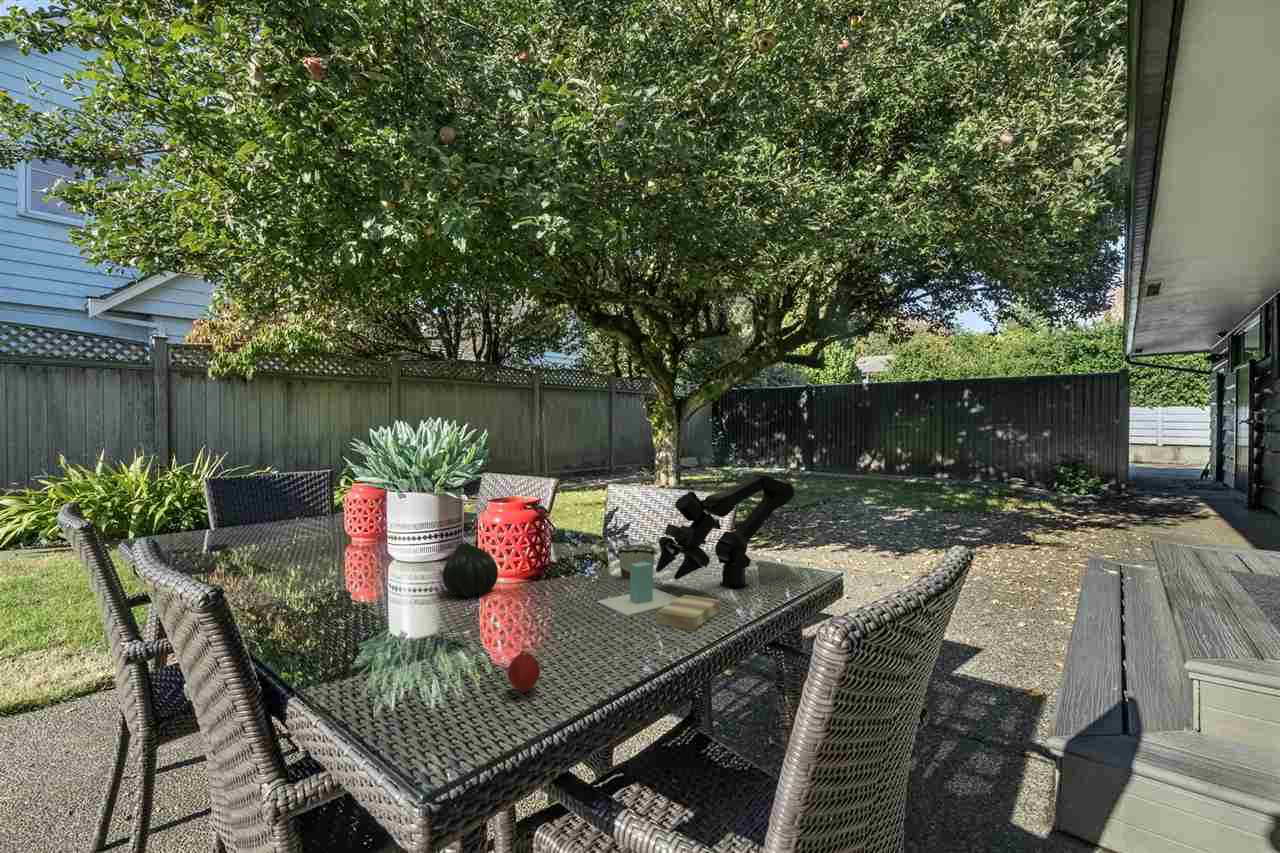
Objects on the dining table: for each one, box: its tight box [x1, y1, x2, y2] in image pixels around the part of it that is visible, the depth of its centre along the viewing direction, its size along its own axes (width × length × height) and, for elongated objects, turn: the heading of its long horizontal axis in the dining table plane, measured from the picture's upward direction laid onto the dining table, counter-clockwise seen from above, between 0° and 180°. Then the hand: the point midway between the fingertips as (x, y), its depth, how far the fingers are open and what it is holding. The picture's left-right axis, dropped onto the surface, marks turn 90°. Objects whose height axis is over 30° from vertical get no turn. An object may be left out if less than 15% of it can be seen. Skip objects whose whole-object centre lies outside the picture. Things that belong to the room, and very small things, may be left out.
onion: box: [507, 649, 541, 693], centre depth 113 cm, size 6×6×8 cm
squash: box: [442, 542, 499, 598], centre depth 174 cm, size 14×15×15 cm
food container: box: [616, 544, 657, 581], centre depth 190 cm, size 12×6×10 cm, turn 84°
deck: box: [656, 594, 720, 632], centre depth 154 cm, size 16×10×3 cm, turn 151°
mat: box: [596, 588, 680, 617], centre depth 166 cm, size 20×14×1 cm
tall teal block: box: [629, 562, 654, 604], centre depth 166 cm, size 5×4×10 cm
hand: (665, 574), depth 170 cm, fingers open, 9 cm apart
